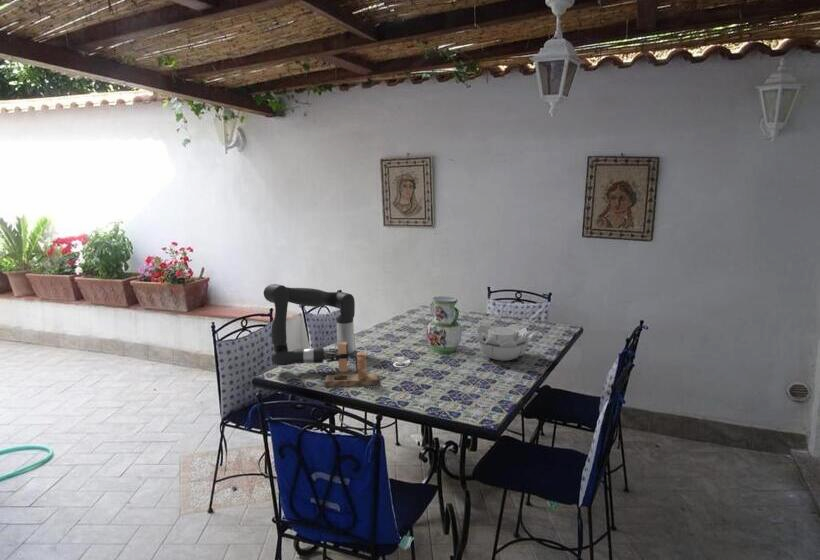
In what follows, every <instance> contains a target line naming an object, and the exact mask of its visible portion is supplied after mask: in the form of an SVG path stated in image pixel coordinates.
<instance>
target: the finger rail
mask: <svg viewBox="0 0 820 560" xmlns="http://www.w3.org/2000/svg"><path fill="white" fill-rule="evenodd" d="M355 366H356V367H355V370H356V371H355V372H356V373H355V374H354V373H353V374H330V375H329V374H328V375H327V374H326V377H325V380H324V387H325V388H329V387H332V388H333V387H354V386H377V385H378V379H379V378H378V373H368V372H367V371H368V370H367V369H368V368H367V351H361V352H357V351H356V354H355Z"/></svg>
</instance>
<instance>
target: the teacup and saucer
mask: <svg viewBox="0 0 820 560" xmlns="http://www.w3.org/2000/svg"><path fill="white" fill-rule="evenodd" d="M404 359H405V358H404V356H397V358H395V359H394V361H395V362H394V363H392V365H393V367H396V368H404V367H407V366H409V365H410V364H411V363H412V362H411V360H404ZM396 364H397V365H396Z"/></svg>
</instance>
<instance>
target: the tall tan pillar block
mask: <svg viewBox="0 0 820 560" xmlns="http://www.w3.org/2000/svg"><path fill="white" fill-rule="evenodd" d="M337 349H338V352H337V353H338V354H348V344H347V342H338V347H337ZM348 362H349V357H348V358H347V359H341V358H340V359H339V361H338V372H343V373H344V372H348V368H349V367H348V366H349V365H348Z"/></svg>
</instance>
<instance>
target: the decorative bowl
mask: <svg viewBox="0 0 820 560" xmlns="http://www.w3.org/2000/svg"><path fill="white" fill-rule="evenodd" d="M475 332H476V333H475V334H474V338H475V340H476V341H477V343H478V347H479V349H480V351H481V353H482V354H483V355H484V356H485V357H487V358H491V359H493V360H496V361H501V362H503V361H504V362H506V361H507V362H508V361H511V360H514V359H517V358H519V357H521V356H523V354H524V353H525V352H526V350H527V348H528V345H529V344H528V343H530V342H531V341H532V340H533V338H534V336H535V332H532V333H531V334H529V335H528V332H527V327H523V328H521V329H520V328H519V325H517V324H516V323H512V324H510V325H508V326H505V327H504V326H503V325H501V324H499V323H495V324H494V325H493V326H492V327H491V326H485V324H484V325H483V324H479V326H478V329H477V328H476V330H475Z"/></svg>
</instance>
